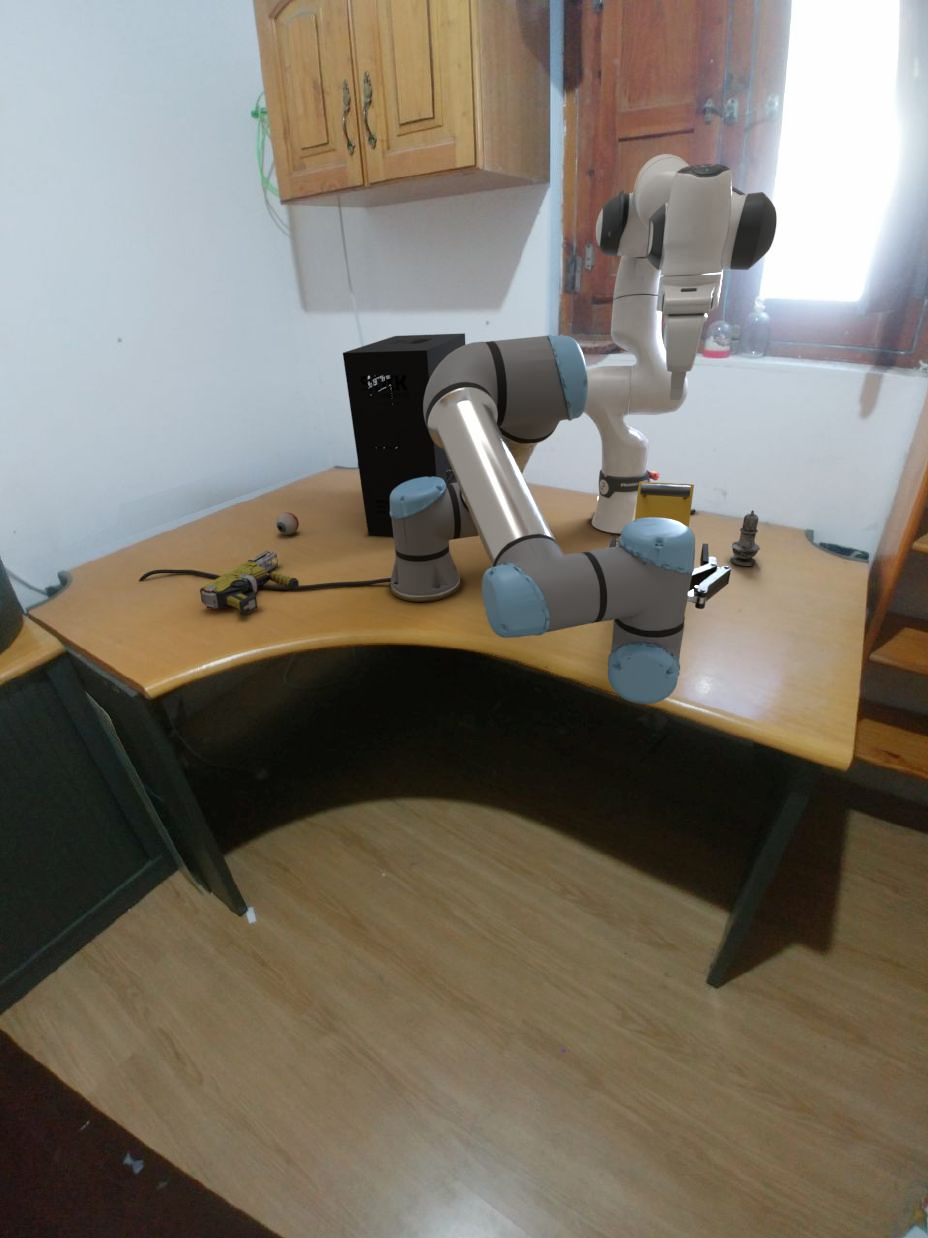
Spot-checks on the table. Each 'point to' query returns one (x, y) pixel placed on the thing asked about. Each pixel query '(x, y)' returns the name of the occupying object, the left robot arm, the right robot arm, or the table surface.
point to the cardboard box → (394, 417)
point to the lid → (664, 501)
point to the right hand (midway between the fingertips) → (676, 393)
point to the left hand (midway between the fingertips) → (657, 547)
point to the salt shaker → (746, 542)
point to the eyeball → (287, 523)
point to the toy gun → (243, 584)
